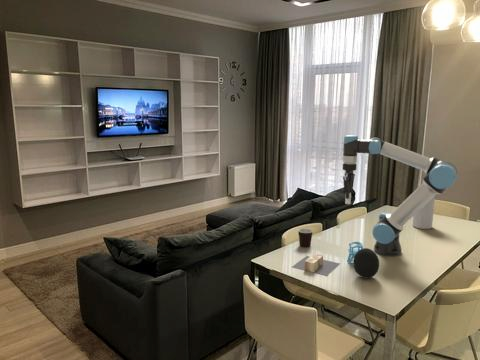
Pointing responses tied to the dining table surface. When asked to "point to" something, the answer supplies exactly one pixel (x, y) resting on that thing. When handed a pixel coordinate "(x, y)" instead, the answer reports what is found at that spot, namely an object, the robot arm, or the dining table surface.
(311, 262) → the wood block
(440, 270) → the dining table surface
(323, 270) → the mat
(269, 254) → the dining table surface
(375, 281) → the dining table surface
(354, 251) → the chair
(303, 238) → the coffee mug
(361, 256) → the decorative egg
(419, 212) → the cylinder vase
